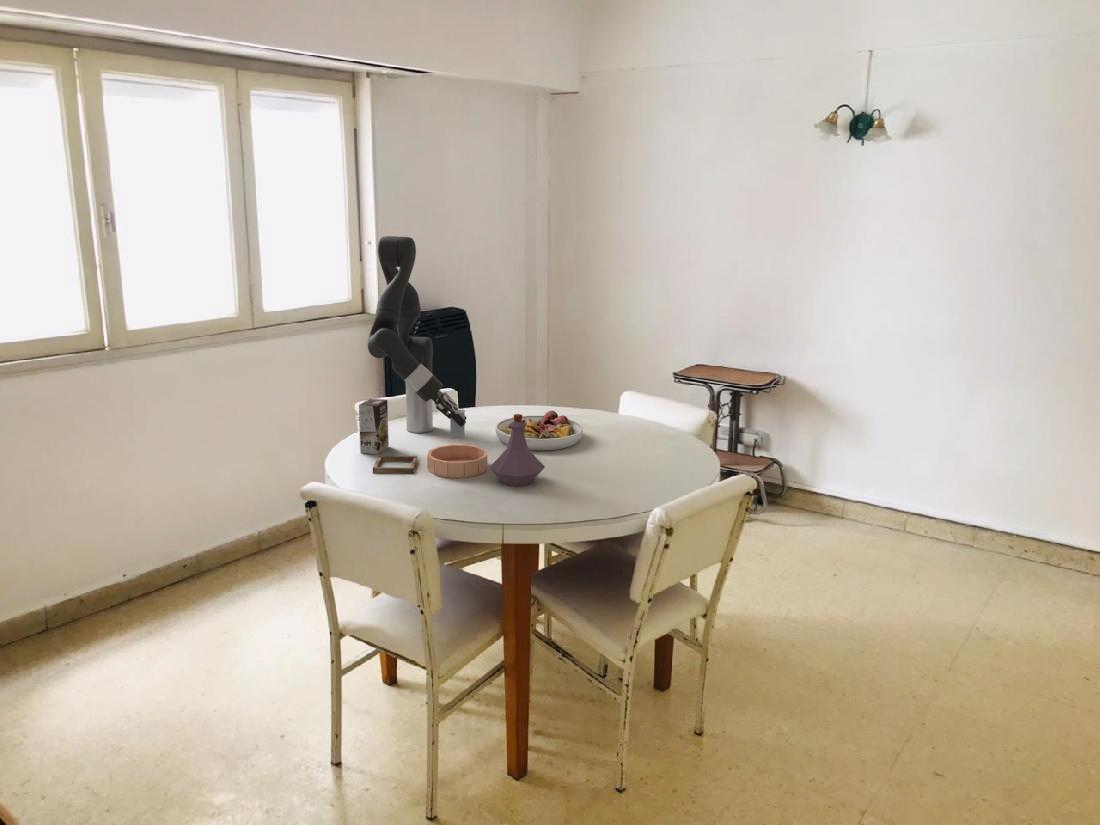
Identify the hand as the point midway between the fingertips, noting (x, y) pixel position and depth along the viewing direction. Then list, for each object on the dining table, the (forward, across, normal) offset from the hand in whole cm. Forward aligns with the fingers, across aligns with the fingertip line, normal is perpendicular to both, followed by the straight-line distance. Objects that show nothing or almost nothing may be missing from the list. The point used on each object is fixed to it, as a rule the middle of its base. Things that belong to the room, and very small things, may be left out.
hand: (464, 422), depth 241 cm
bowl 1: (+9, 0, +12) cm, 15 cm away
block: (+2, 0, +5) cm, 5 cm away
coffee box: (-11, +18, +32) cm, 38 cm away
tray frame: (-4, +1, +25) cm, 26 cm away
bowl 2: (+28, +31, -7) cm, 42 cm away
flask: (+22, -11, -1) cm, 25 cm away
